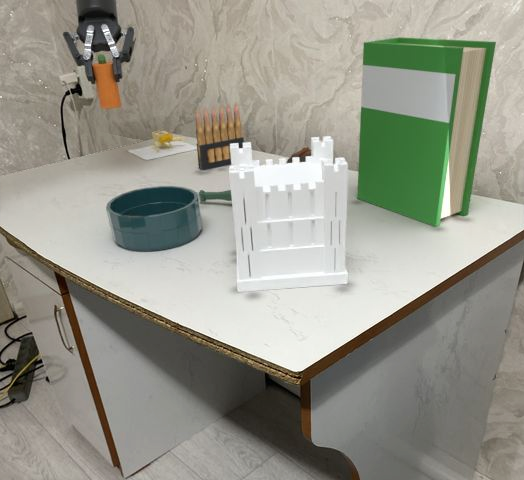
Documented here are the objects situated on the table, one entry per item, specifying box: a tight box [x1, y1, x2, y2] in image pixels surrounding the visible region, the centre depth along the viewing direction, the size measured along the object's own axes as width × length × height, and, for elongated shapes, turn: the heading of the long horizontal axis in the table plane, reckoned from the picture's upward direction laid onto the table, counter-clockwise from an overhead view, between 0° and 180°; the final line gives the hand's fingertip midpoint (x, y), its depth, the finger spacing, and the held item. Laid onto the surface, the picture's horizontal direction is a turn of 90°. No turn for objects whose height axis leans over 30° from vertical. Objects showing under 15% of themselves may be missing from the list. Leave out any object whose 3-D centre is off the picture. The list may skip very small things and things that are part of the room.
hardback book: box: [356, 36, 497, 228], centre depth 83 cm, size 18×7×24 cm, turn 34°
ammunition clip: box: [195, 102, 245, 171], centre depth 114 cm, size 11×2×12 cm, turn 118°
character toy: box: [151, 129, 185, 148], centre depth 131 cm, size 8×3×8 cm
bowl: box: [105, 185, 203, 252], centre depth 85 cm, size 14×14×6 cm
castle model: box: [228, 135, 349, 293], centre depth 70 cm, size 14×14×15 cm
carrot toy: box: [92, 53, 122, 110], centre depth 103 cm, size 4×4×9 cm
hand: (104, 79), depth 101 cm, fingers closed on carrot toy, 4 cm apart
